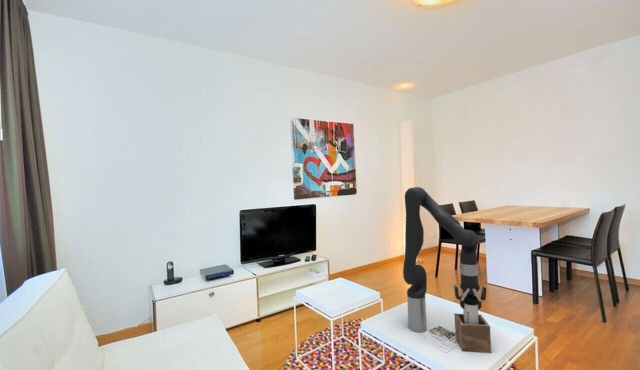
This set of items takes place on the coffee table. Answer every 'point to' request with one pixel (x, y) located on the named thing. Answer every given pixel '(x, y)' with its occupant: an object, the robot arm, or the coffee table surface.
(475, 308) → the travel mug
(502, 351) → the coffee table surface
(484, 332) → the wooden box
